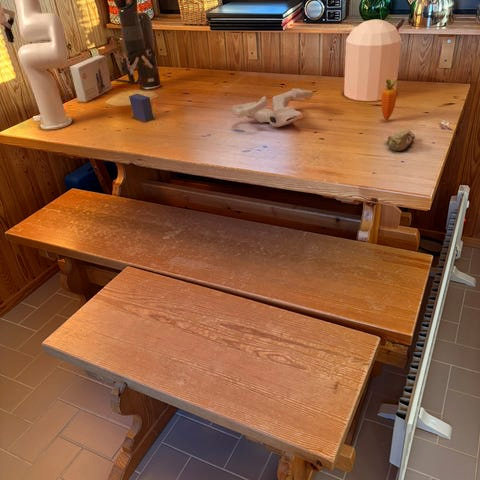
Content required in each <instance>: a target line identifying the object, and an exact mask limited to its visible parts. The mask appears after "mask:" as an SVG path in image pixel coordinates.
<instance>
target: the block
mask: <svg viewBox="0 0 480 480" xmlns="http://www.w3.org/2000/svg"><path fill="white" fill-rule="evenodd" d="M128 98H129V102H130V107H131V112H132V116H133V119H136V120H139V121H142V122H145V123H146V122H149V121H152V120H154V119H155V117H154V112H153V107H152V102H151V97H150V96H147V95H143V94H140V93H134V94H132V95H129V96H128Z"/></svg>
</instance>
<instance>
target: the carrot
mask: <svg viewBox="0 0 480 480" xmlns="http://www.w3.org/2000/svg"><path fill="white" fill-rule="evenodd" d="M396 81H397V82H398V78H397V79H395V80H394V82H393V84H391V82H390V79H386V83H387V85H386V87H387V88H386V89H384V90H383V91H382V98H381V100H380V101H381V102H380V104H381V112H382V113H381V114H382V117H383V119H384V120H385V121H386V122H388V121H389V119H390V118H391V117H392V114H393V112H394V109H395V106H396V101H397V96H398V95H397V94H398V91H397V89H396V90H395V89H394V88H393V86H394V84H395V83H396ZM389 85H390V86H389ZM391 85H392V86H391Z"/></svg>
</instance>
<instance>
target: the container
mask: <svg viewBox="0 0 480 480" xmlns="http://www.w3.org/2000/svg"><path fill="white" fill-rule="evenodd" d="M401 50H402V37H401V35H400V32H399V31H398V29H397V27H396V26H394V25H393V24H392V23H390V22H388V21H386V20H383V19H378V18H377V19H376V18H375V19H369V20H364V21H363V22H361V23H359V24H358V25H356V26H355V27H354V28H352V30H351V31H350V33H349V34H348V36H347V37H346V39H345V55H344V59H345V60H344V81H343V83H344V85H343V94H344V96H345V97H346V98H347V99H351V100H354V101H363V102H377V101H381V98H382V91H383V90H384V89H386V88H387V87H386V85H387V83H386V79H390V82H391V84H393V82H394V80H395V79H397V81H396V83H395V84H394V86H393V88H394V89H395V90H396V91H397V87H398V86H397V85H398V83H397V82H398V76H399V67H400V59H401V58H400V57H401ZM389 86H390V85H389ZM391 86H392V85H391Z"/></svg>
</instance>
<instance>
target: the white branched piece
mask: <svg viewBox="0 0 480 480" xmlns="http://www.w3.org/2000/svg"><path fill="white" fill-rule="evenodd" d="M313 93H314V92H313V91H312V90H307V89H302V88H292V89H291V90H289V91H286V92H283V93H281V94H277V95H275V96H272V102H271V103H272V107H273V109H272V110H271V109H266V108H265V107H267V106H268V98H267V96H266V95H264V96H262V97H261V98H260V99H259V100H258V101H257V102H256V101H251V102H246V103H240V104H234V105H232V106H231V107H232V108H231V109H232V112H233V113H234V115H235V116H237V118H244V117H246V118H248V119H252V120H257V122H259V123H269V124H270V126H272V127H274V128H280V127H284V126H287V125H290V124H294V123H296V121H298V120H301V119H302V112H301V111H300V110H297V109H295V108H294V107H291V106H288V105H289V103H290V102H292V101H299V100H308V101H310V100H311V99H312V97H313Z"/></svg>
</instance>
